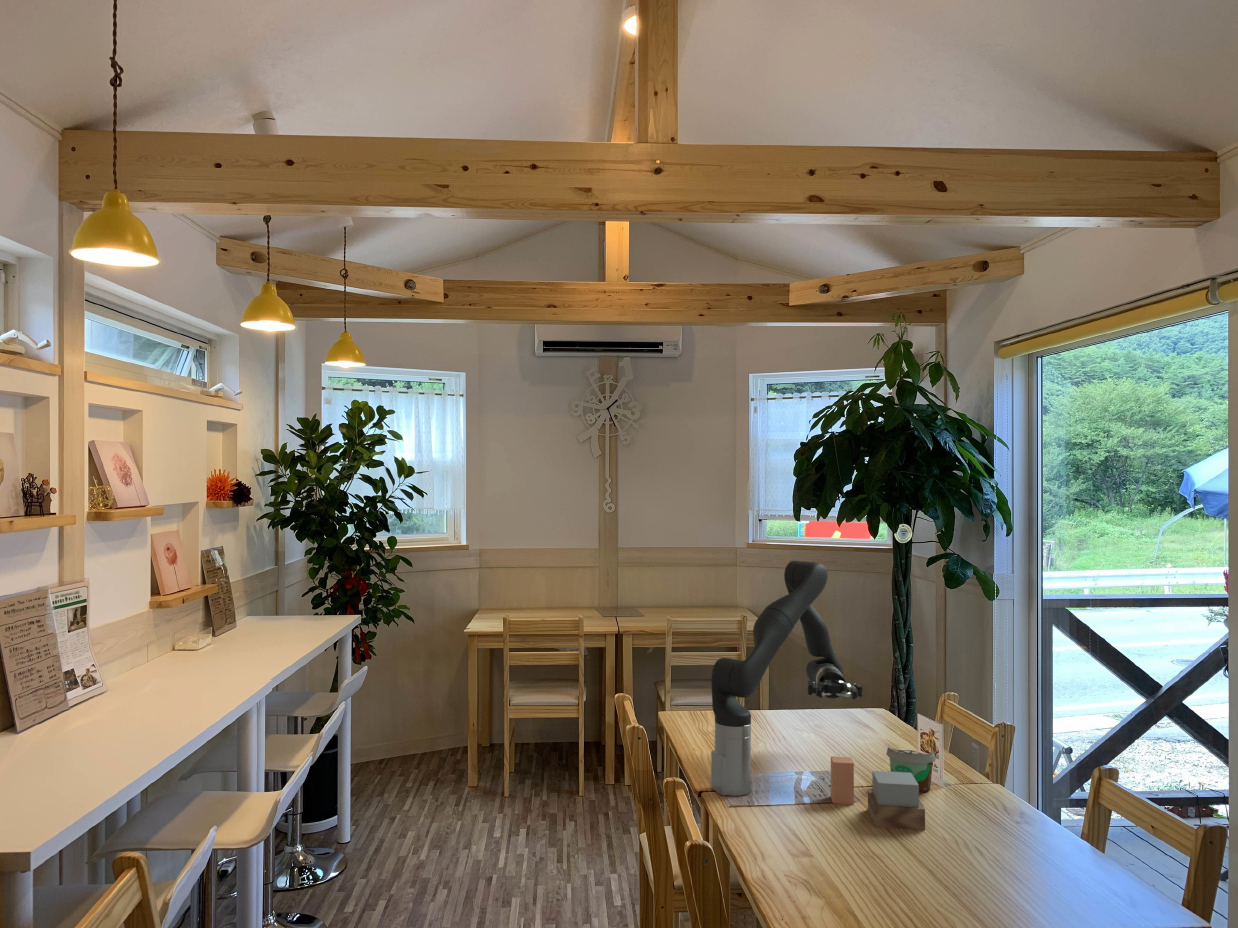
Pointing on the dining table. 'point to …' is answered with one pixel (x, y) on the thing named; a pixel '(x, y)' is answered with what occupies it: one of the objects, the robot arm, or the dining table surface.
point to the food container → (913, 765)
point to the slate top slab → (895, 788)
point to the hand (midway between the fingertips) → (837, 694)
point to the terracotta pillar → (842, 780)
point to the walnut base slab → (896, 815)
